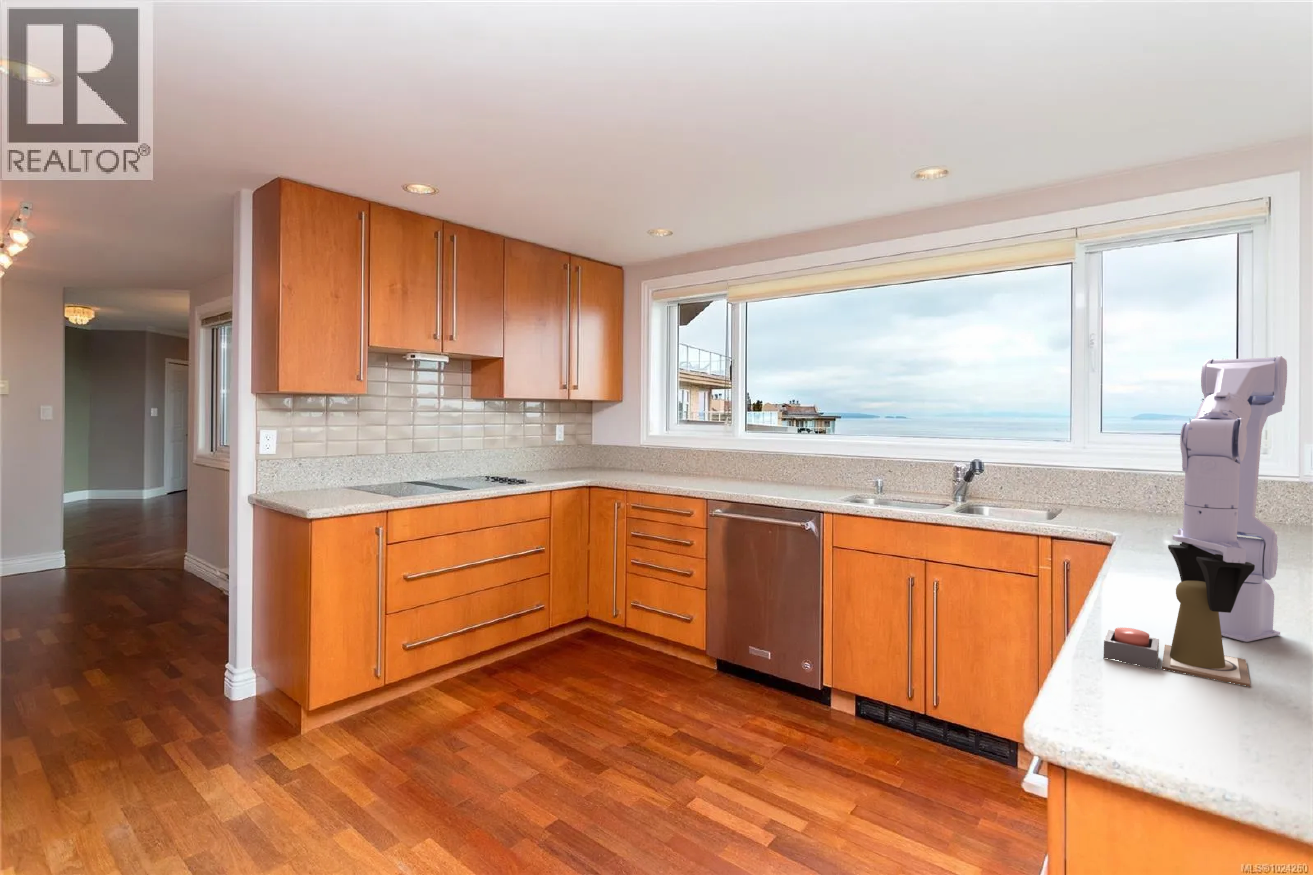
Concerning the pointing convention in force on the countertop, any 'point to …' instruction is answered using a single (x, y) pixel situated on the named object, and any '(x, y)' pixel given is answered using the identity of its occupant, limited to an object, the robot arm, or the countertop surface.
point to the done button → (1132, 636)
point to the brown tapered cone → (1197, 629)
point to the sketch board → (1230, 673)
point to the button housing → (1131, 651)
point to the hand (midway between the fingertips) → (1206, 603)
